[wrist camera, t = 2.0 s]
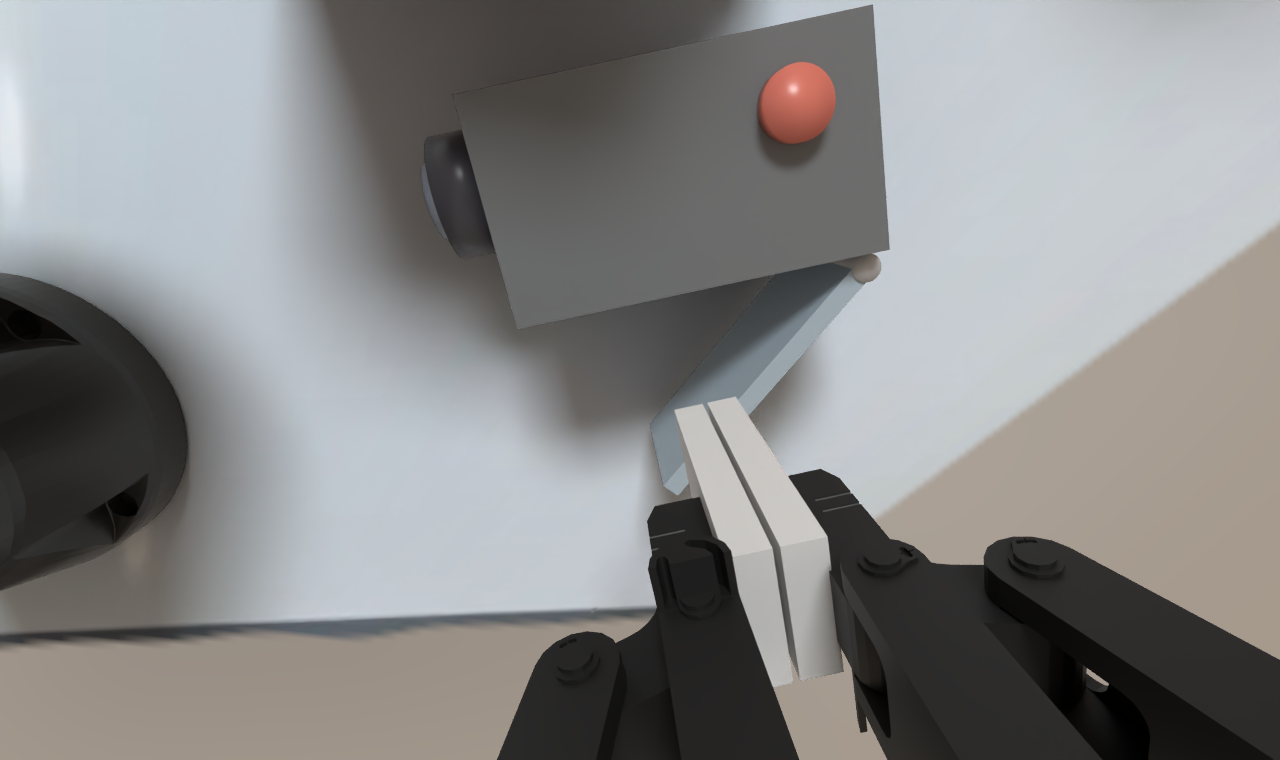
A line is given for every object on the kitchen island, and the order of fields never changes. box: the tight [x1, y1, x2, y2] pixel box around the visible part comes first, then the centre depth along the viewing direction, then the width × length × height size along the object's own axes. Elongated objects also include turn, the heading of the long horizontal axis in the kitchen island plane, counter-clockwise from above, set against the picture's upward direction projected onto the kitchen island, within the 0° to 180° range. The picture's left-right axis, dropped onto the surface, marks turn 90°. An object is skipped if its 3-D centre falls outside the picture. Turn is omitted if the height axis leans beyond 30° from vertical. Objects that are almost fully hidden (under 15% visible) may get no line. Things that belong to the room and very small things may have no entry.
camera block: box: [421, 5, 890, 330], centre depth 25 cm, size 16×8×10 cm, turn 101°
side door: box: [650, 254, 881, 496], centre depth 28 cm, size 13×1×7 cm, turn 142°
